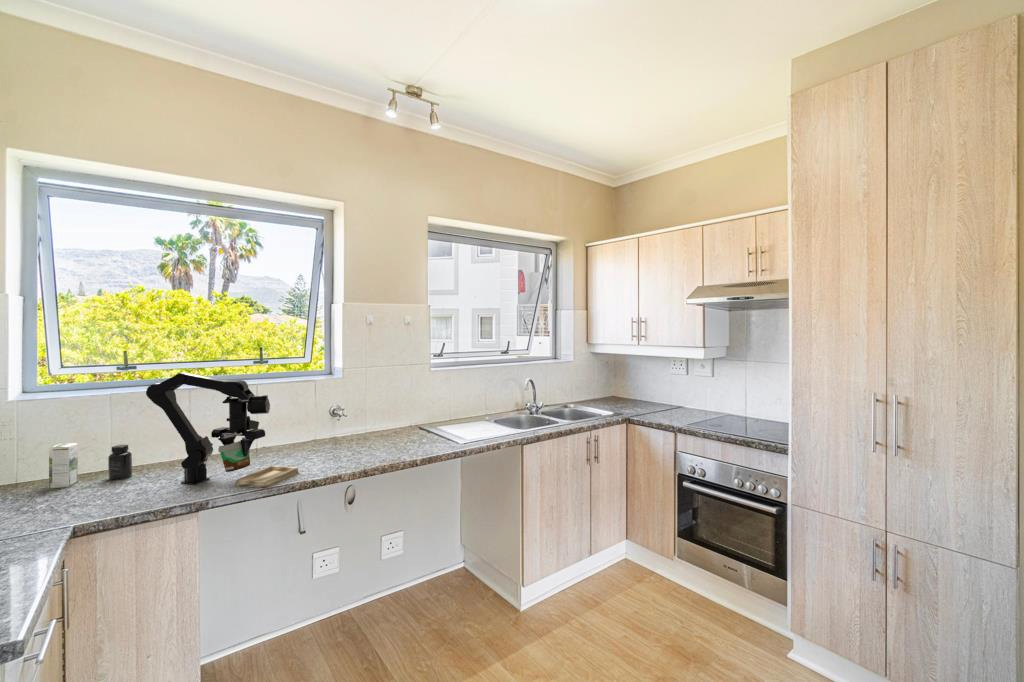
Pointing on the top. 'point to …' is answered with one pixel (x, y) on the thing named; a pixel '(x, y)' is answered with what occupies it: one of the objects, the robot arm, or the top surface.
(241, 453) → the food container
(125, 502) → the top surface
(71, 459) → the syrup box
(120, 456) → the supplement bottle
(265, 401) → the robot arm
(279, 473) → the wooden tray
